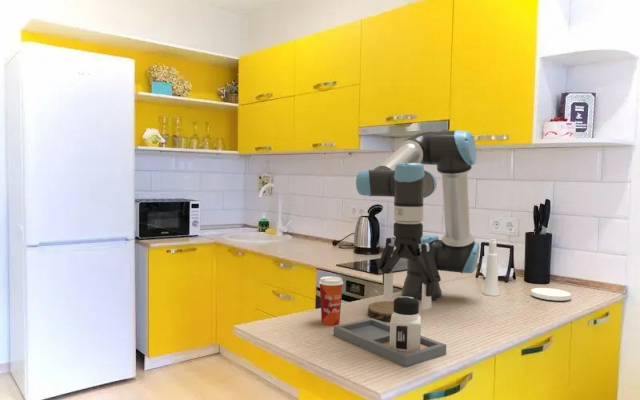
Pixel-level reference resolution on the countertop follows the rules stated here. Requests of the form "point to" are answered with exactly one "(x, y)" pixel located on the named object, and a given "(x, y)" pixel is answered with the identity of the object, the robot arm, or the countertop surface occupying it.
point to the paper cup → (330, 299)
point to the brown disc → (381, 310)
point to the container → (405, 325)
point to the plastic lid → (550, 294)
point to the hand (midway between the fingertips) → (406, 302)
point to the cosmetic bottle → (491, 271)
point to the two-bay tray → (387, 342)
